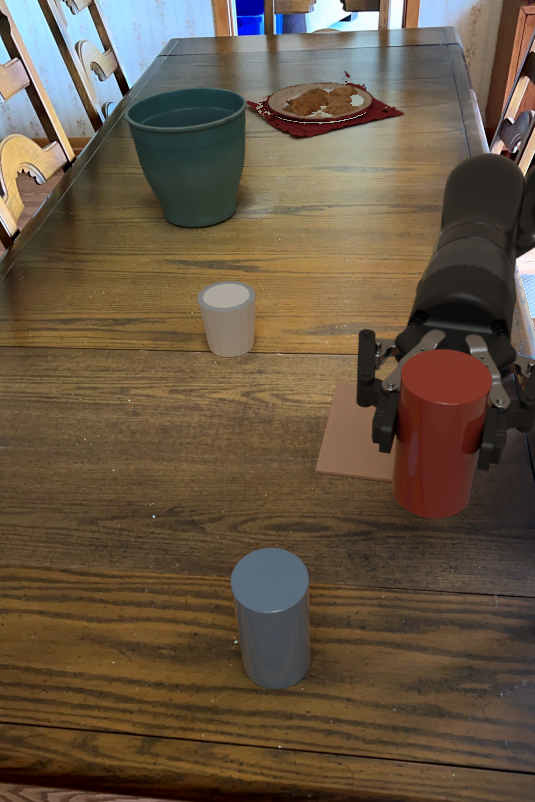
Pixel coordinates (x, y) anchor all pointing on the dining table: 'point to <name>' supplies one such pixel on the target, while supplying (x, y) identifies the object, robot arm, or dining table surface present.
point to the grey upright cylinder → (273, 616)
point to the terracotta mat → (352, 440)
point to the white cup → (228, 317)
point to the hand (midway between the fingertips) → (433, 450)
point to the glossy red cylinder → (439, 431)
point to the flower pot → (191, 151)
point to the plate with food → (313, 100)
